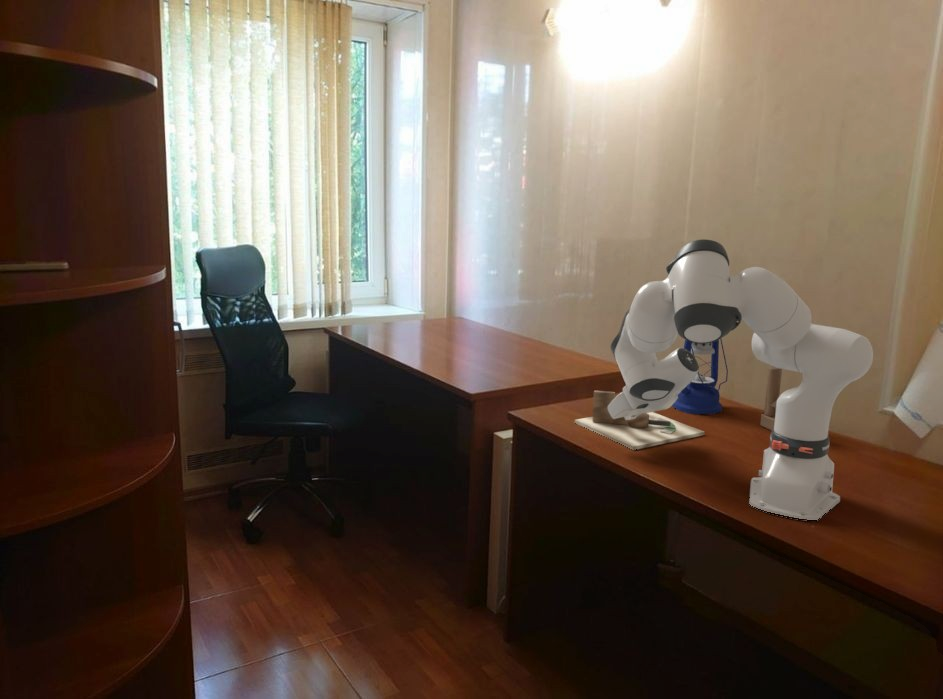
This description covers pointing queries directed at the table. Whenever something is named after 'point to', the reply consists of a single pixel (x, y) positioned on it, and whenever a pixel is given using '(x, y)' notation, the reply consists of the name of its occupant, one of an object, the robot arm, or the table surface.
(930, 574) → the table surface
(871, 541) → the table surface
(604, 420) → the brown wooden long piece
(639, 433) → the tuner board
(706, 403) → the lantern
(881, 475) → the table surface
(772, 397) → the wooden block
